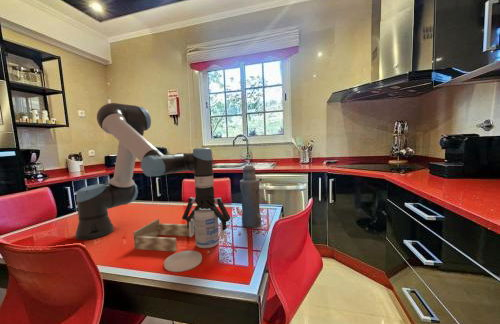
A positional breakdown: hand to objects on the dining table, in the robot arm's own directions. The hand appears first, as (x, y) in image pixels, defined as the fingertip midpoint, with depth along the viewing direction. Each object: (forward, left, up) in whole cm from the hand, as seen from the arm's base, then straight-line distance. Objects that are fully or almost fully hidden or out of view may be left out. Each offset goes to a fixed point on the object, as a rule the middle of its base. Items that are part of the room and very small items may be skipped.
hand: (207, 236), depth 92 cm
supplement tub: (0, 0, -4) cm, 4 cm away
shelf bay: (-19, 0, -3) cm, 19 cm away
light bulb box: (-9, +17, -4) cm, 20 cm away
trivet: (-3, -14, -3) cm, 15 cm away
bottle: (+14, +24, -3) cm, 28 cm away
